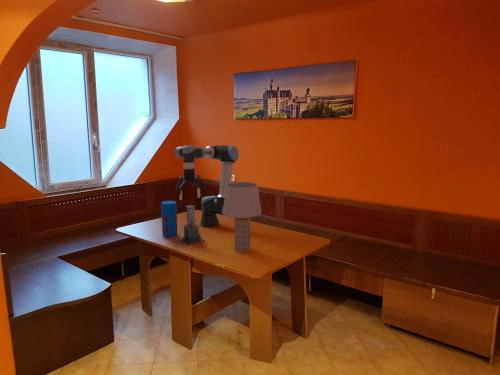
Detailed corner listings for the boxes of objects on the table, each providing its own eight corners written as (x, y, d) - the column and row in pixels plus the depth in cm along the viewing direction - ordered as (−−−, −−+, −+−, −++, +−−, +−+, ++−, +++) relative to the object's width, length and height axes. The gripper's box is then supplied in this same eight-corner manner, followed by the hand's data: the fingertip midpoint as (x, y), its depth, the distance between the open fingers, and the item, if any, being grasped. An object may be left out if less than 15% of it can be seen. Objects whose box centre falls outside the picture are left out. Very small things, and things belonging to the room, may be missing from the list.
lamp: (264, 244, 267) (265, 182, 259) (257, 257, 243) (257, 188, 235) (229, 242, 272) (228, 180, 264) (218, 254, 248) (217, 187, 240)
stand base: (196, 236, 286) (195, 219, 284) (204, 241, 275) (204, 223, 272) (178, 239, 278) (177, 222, 276) (186, 245, 267) (185, 226, 265)
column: (193, 236, 280) (192, 205, 276) (196, 238, 275) (195, 206, 271) (186, 237, 277) (185, 206, 273) (189, 239, 273) (188, 207, 268)
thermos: (174, 238, 282) (172, 204, 278) (160, 237, 284) (158, 203, 280) (179, 233, 293) (178, 201, 288) (166, 232, 295) (164, 200, 290)
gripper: (203, 166, 277) (203, 195, 281) (169, 169, 264) (171, 199, 267) (207, 167, 271) (208, 197, 275) (174, 170, 257) (175, 201, 261)
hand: (190, 198), depth 271 cm, fingers open, 13 cm apart
